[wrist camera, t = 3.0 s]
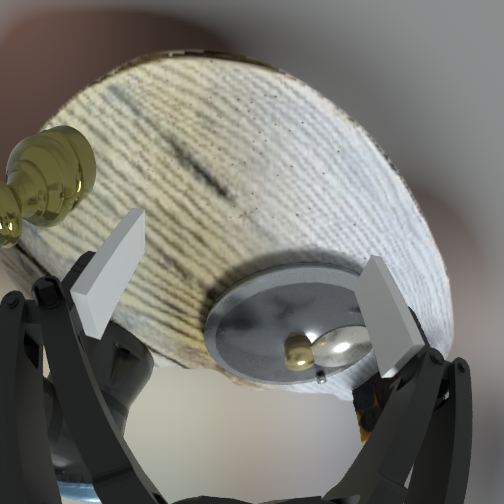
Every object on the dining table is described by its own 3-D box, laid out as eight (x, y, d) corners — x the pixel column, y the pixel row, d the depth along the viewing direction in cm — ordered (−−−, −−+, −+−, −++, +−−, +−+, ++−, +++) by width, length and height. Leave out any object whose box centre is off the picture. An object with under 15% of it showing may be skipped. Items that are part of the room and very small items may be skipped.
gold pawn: (26, 162, 17) (-48, 214, 9) (66, 106, 15) (-29, 141, 7) (68, 218, 21) (6, 288, 13) (114, 171, 18) (36, 239, 10)
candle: (391, 360, 34) (409, 417, 26) (425, 365, 36) (442, 413, 28) (349, 392, 39) (359, 443, 31) (386, 394, 41) (397, 438, 33)
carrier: (199, 367, 33) (196, 393, 30) (218, 243, 22) (212, 274, 19) (336, 379, 36) (341, 402, 32) (412, 279, 25) (428, 305, 21)
